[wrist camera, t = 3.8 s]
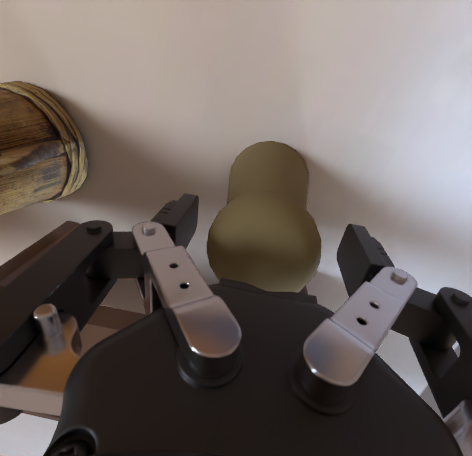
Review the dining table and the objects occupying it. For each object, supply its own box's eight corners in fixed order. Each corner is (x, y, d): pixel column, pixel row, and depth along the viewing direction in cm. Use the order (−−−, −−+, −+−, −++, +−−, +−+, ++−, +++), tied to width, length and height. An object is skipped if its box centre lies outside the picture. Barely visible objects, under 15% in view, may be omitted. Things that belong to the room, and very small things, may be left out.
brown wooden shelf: (83, 299, 30) (-11, 405, 20) (67, 220, 25) (-68, 311, 15) (279, 339, 29) (280, 471, 19) (303, 265, 24) (322, 393, 14)
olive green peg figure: (263, 122, 19) (249, 167, 9) (326, 176, 20) (373, 267, 10) (214, 186, 21) (163, 272, 12) (272, 230, 22) (268, 341, 13)
